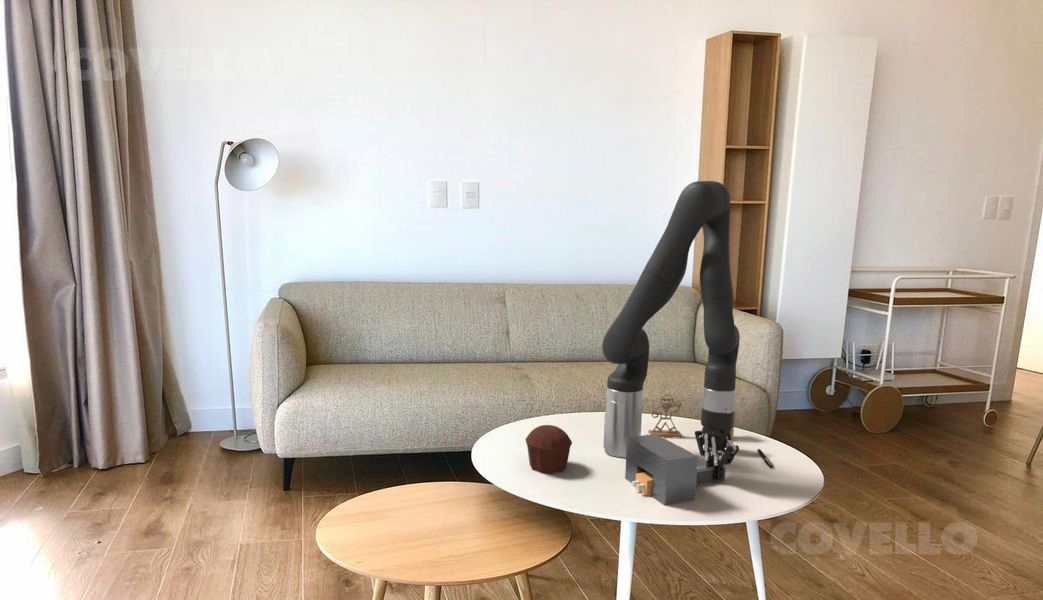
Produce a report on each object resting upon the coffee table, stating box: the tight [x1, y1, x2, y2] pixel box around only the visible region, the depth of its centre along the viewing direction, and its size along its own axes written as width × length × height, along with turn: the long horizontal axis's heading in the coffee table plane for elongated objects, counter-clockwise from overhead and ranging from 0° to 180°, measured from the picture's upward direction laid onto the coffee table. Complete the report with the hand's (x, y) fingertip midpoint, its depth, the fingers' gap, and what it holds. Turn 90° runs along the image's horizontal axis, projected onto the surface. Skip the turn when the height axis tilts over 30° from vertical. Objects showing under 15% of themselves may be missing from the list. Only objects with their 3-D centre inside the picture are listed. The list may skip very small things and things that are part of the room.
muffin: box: [525, 424, 573, 475], centre depth 168 cm, size 12×11×10 cm
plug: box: [631, 466, 727, 497], centre depth 158 cm, size 4×25×4 cm, turn 114°
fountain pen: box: [757, 448, 773, 469], centre depth 178 cm, size 14×1×2 cm, turn 175°
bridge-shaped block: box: [624, 434, 699, 506], centre depth 156 cm, size 16×8×10 cm, turn 23°
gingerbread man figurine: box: [647, 393, 683, 439], centre depth 194 cm, size 9×4×12 cm, turn 90°
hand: (713, 477), depth 163 cm, fingers closed on plug, 2 cm apart
